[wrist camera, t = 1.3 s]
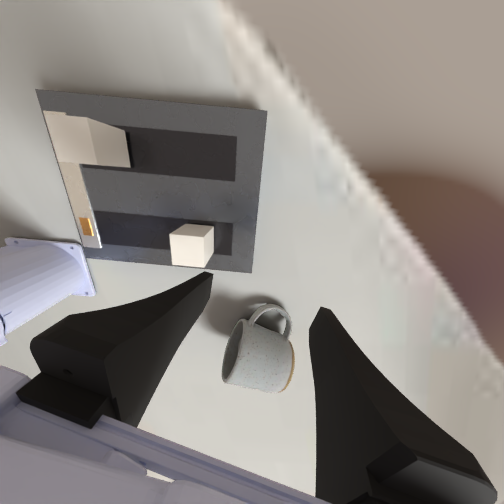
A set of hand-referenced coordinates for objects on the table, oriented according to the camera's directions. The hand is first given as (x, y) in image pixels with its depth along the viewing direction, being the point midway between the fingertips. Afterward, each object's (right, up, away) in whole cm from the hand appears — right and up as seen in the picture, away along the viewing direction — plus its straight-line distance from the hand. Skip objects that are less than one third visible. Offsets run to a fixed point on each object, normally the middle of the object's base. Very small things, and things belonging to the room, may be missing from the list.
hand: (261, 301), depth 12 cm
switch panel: (-10, +10, +9) cm, 16 cm away
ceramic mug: (+1, -8, +16) cm, 18 cm away
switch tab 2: (-6, +5, +8) cm, 11 cm away
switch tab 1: (-14, +13, +5) cm, 19 cm away
